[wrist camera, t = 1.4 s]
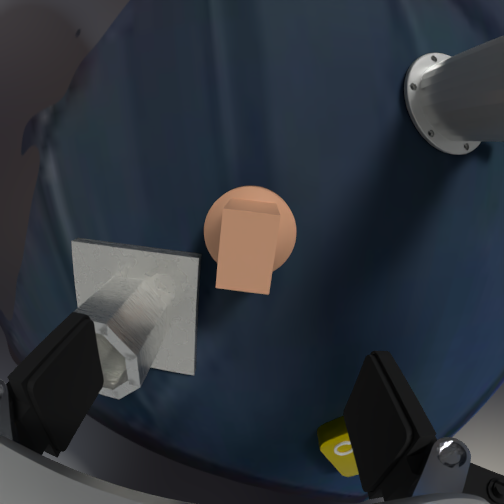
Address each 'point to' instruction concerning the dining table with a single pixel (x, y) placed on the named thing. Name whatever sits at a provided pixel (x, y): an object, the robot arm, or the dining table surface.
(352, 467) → the element tile
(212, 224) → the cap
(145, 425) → the dining table surface
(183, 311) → the hex socket plate
